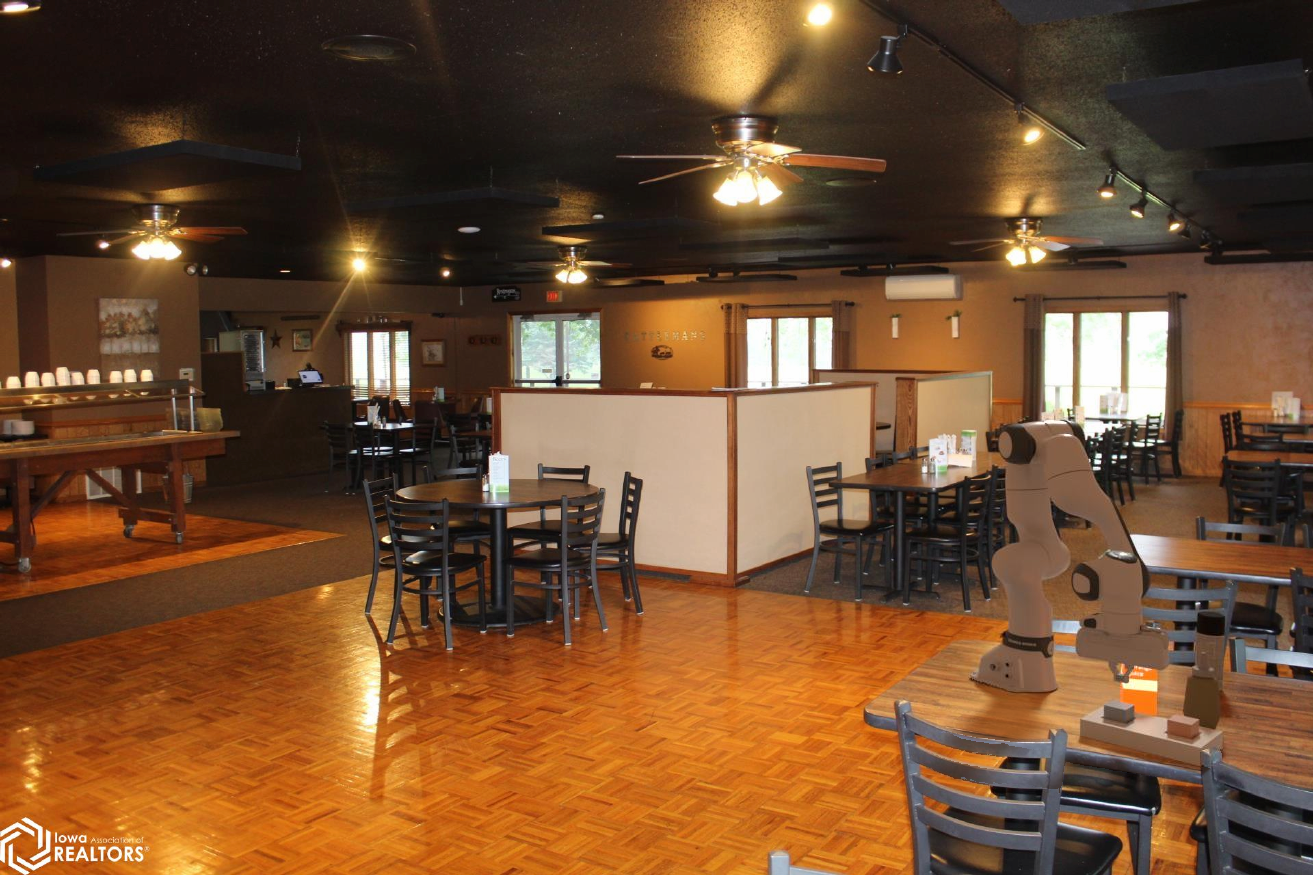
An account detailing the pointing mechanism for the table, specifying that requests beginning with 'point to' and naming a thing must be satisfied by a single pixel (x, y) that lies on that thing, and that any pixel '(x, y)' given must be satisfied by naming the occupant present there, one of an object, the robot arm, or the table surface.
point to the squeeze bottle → (1202, 695)
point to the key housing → (1149, 736)
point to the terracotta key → (1183, 726)
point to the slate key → (1119, 711)
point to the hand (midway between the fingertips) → (1121, 681)
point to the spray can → (1211, 641)
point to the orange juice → (1140, 689)
